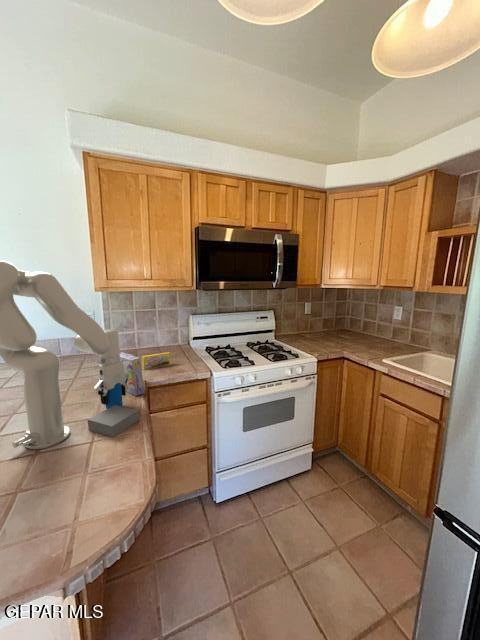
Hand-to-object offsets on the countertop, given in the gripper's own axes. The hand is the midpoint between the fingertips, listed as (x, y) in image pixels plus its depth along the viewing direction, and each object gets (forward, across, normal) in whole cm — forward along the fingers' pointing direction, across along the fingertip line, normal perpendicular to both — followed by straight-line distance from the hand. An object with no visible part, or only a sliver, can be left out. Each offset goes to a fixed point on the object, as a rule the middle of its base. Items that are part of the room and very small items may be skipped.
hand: (114, 399), depth 113 cm
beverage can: (+4, 0, 0) cm, 4 cm away
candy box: (+4, +49, +19) cm, 53 cm away
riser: (+4, -10, -11) cm, 15 cm away
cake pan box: (+4, +16, +8) cm, 19 cm away
